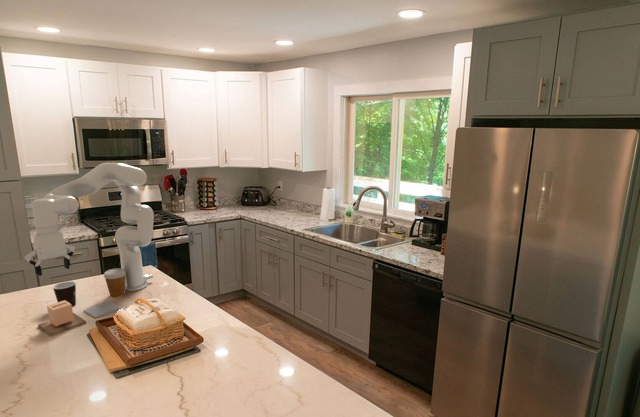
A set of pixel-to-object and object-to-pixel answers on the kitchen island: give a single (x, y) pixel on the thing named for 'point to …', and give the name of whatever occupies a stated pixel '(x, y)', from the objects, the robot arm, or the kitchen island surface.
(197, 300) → the kitchen island surface
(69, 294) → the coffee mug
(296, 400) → the kitchen island surface
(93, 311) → the mat
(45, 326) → the post base
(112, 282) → the disposable coffee cup
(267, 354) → the kitchen island surface
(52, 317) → the coin bank
